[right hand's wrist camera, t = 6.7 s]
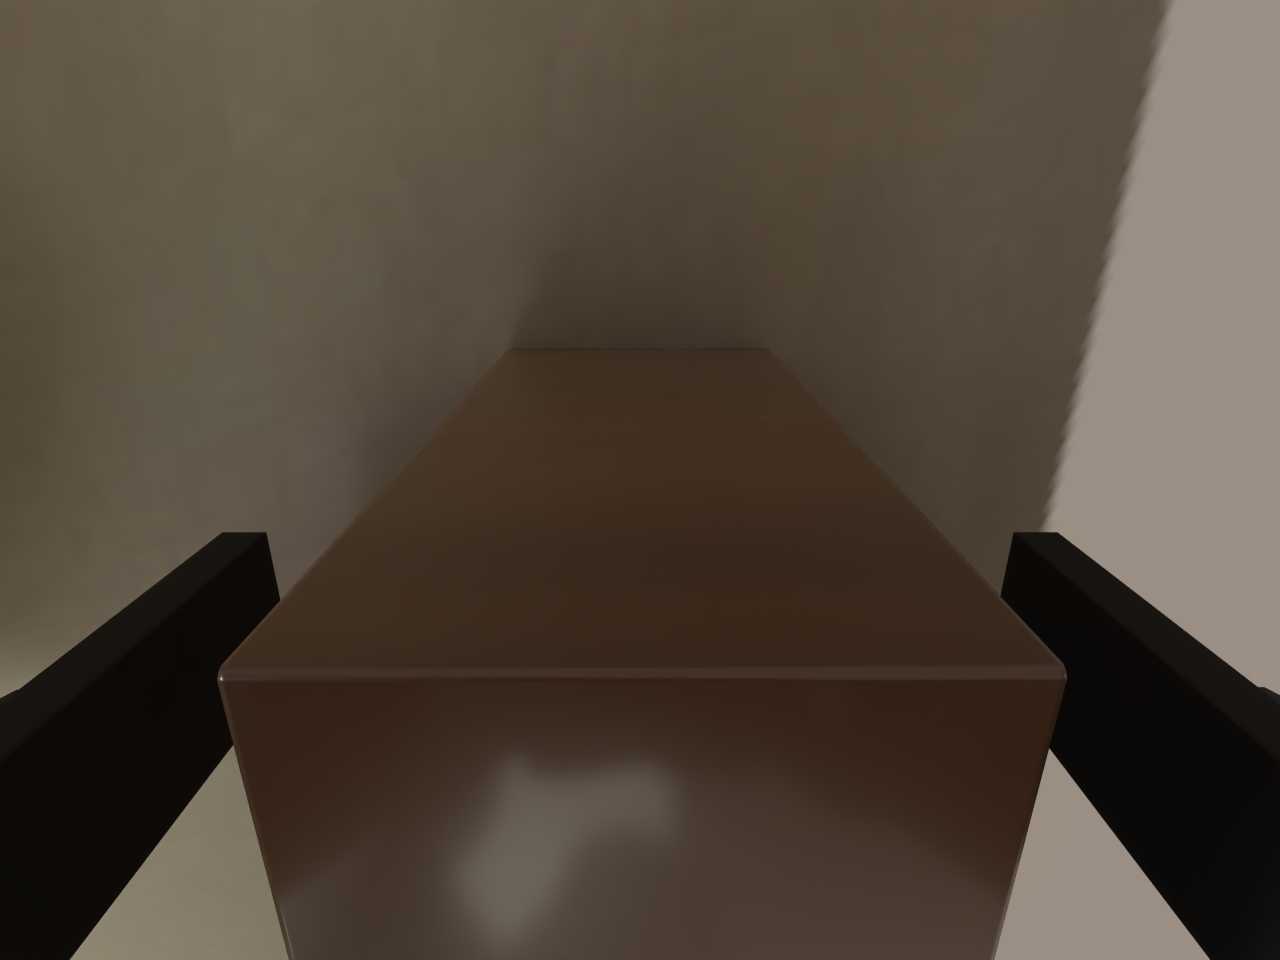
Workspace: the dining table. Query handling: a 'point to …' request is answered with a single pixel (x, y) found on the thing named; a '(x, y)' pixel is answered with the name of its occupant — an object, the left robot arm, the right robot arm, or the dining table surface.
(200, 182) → the dining table surface
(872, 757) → the walnut beam
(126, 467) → the dining table surface
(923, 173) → the dining table surface
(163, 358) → the dining table surface
